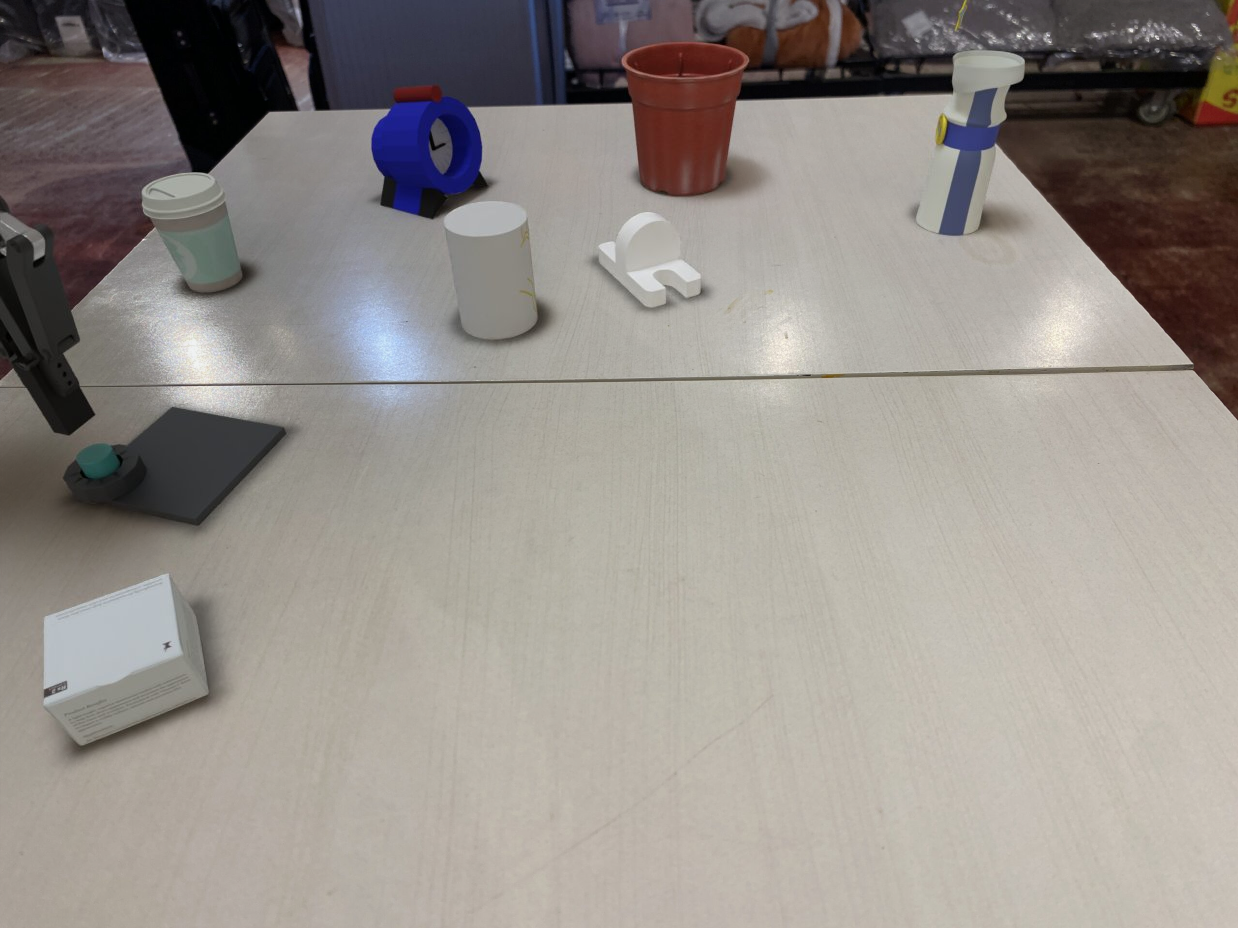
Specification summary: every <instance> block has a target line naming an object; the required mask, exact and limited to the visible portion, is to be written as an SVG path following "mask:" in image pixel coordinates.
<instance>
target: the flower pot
mask: <svg viewBox="0 0 1238 928" xmlns="http://www.w3.org/2000/svg"><path fill="white" fill-rule="evenodd" d="M749 63H750V58H749V56H748V55H747V54H746V53H745V52H743V51H742V50H739V49H738V48H735V47H732V46H727V45H724V44H723V45H722V44H718V43H712V42H711V43H709V42H701V41H672V42H663V43H662V42H661V43H656V44H655V43H654V44H649V45H645V46H641V47H638V48H635V49H632V50H630V51H629V52H627V53H625V54H624V55H623V56H622V58H621V66H622V67H623V68H622V69H624V70H625V73H626V81H627V90H628V94H629V96H630V98H631V107H632V114H633V125H634V126H633V127H634V133H635V135H634V136H635V145H636V156H637V164H638V165H637V166H638V172H639V173H638V174H639V175H638V176H639V181H640V183H641V184H642V185H643V186H644V187H646V188H647V189H649V190H651V191H653V192H655V193H659V192H660V191H664V192H666V193H668V195H670V196H686V197H688V196H696V195H702V194H704V193H708V192H712V191H714V190H716V189H717V187H718V186H719V184H723V183H724V181H725V176H726V170H727V165H728V164H727V163H728V157H729V151H730V145H731V137H732V131H733V124H734V118H735V111H736V105H737V99H738V96H739V95H740V93H741V88H742V82H743V76H744V75H743V74H744V70H745V69H746V68H747V67H748V65H749Z"/></svg>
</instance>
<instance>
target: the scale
mask: <svg viewBox="0 0 1238 928" xmlns="http://www.w3.org/2000/svg"><path fill="white" fill-rule="evenodd" d="M286 435H287V431H286V429H285V427H284V426H279V425H274V424H270V423H269V424H268V423H263V422H258V421H252V420H246V419H241V418H236V417H231V416H226V415H225V416H224V415H218V414H213V413H208V412H204V411H197V410H193V409H192V410H191V409H187V408H182V407H181V408H180V407H175V406H171V407H170V408H169V409H168V410H166V412H164V413H163V414H162V415H161V416H159V418H157V419H156V420H154V422H153V423H151V424H150V425H149V426H148V427H147V428H146V429H145V430H143V431H142V432H141V433H140V434H139V435H137V437H135V438H134V439H133V440H131V442H129V443H128V444H126V445H124V444H120V443H118V444H109V445H110V446H111V447H112V449H113V451H114V453H115V454H116V456H117V458H118V460H119V461H120V467H119V468H118V469H117V470H116V471H115V472H114V473H112V474H109V475H107V476H105V477H103V478H97V479H90V478H88V477H87V476H86V475H85V473H84V472H83V470H82V469H81V467H80V465H79V464H78V462H77V460H76V459H74V460H73V462H71V463H70V464H68V465H67V466H66V469H65V471H64V474H63V477H62V479H63V481H64V482H65V485H66V486H67V487H68V489H69V490H70V492H71V493H72V495H73V497H74V498H75V500H76V501H78V502H82V503H86V504H90V505H95V504H99V505H104V506H109V507H113V508H118V509H122V510H126V511H131V512H136V513H141V514H145V515H149V516H154V517H159V518H162V519H167V520H172V521H176V522H181V523H186V524H190V525H195V526H199V525H200V524H202V522H204V521H205V520H206V518H207V517H208V516H209V515H211V513H212V512H213V511H214V510H215V509H216V508H217V507H218V506H219V504H220V503H221V502H222V501H224V500H225V498H226V497H227V496H228V495H229V494H230V493H231V492H232V491H233V490H234V489H235V488H236V487H237V486H238V485H239V484H240V483H241V482H242V481H243V480H244V478H245V477H247V475H248V474H249V473H250V472H251V471H252V470H253V469H254V468H255V467H256V466H257V465H258V464H259V463H260V462H261V461H262V459H263V458H264V457H265V456H266V455H267V454H269V452H270V451H271V450H273V448H274V447H275V446H276V445H277V444H278V443H279V442H280V440H281V439H282V438H283V437H284V436H286Z"/></svg>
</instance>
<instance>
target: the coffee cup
mask: <svg viewBox="0 0 1238 928" xmlns="http://www.w3.org/2000/svg"><path fill="white" fill-rule="evenodd" d="M227 197H228V196H227V193H226V192H225V190H224V188H223V186H221V184H220V183H219V182H218V181H217V179H216V178H215V176H213V175H212V174H210V173H209V174H208V173H206V172H183V173H176V174H175V173H174V174H171V175H167V176H163V177H161V178H158V179H155V180H153V181H151V182H149V183H148V184H146V185H145V186H144V187H143V188H142V189H141V198H142V199H141V200H142V201H141V207H142V212H143V214H144V215H145V216H147V217H149V219H150V221H151V222H152V224H153V226H154V227H155V230H156V231H157V233H158V235H159V237H160V238H161V240H162V242H163V244H164V245H165V248H166V249H167V251H168V253H169V254H170V256H171V258H172V260H173V262H174V263H175V265H176V266H177V268H178V270H179V272H180V273H181V275H182V277H183V279H184V280H185V282H186V284H187V286H188V287H189V289H190V290H192V291H193V292H197V293H215V292H219V291H223V290H227V289H229V288H231V287H234V286H235V285H237V284H238V283H239V282H240V281H242V279H243V272H242V267H241V266H242V265H241V262H240V258H239V254H238V248H237V245H236V241H235V236H234V233H233V227H232V224H231V219H230V215H229V210H228V207H227V202H226V200H227Z"/></svg>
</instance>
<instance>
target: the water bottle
mask: <svg viewBox="0 0 1238 928" xmlns="http://www.w3.org/2000/svg"><path fill="white" fill-rule="evenodd" d="M967 2H968V0H964V1H963V4H962V7H961V9H960V10H959V11H958V19H957V22H956V25H955V28H954V32H957V30H958V28H961V26H962V23H963V18H964V15H965V13H966V11H967V10H968V9H967V8H968V5H967ZM952 65H953V71H952V79H951V83H952V88H953V92H952V96H951V97H950V100H949V103H948V104H947V105H946V106H945V107H944V109H943V110H942V113H941V114H940V115H939V117H938V121H937V125H936V130H935V144H936V145H935V147H934V149H933V153H932V156H931V160H930V164H929V169H928V172H927V175H926V176H927V177H926V181H925V185H924V188H923V192H922V196H921V199H920V203H919V205H918V210H917V213H916V216H915V222H916V223H917V225H918V226H920V227H921V228H922V229H924V230H926V231H929V232H931V233H934V234H940V235H945V236H964V235H968V234H972V233H974V232H976V231H977V230H978V229H979V228H980V224H981V220H982V214H983V209H984V205H985V200H986V196H987V192H988V188H989V184H990V181H991V177H992V173H993V169H994V166H995V162H996V156H997V148H996V142H997V138H998V135H999V131H1000V127H1001V124H1002V123H1003V122H1004V121H1006V119H1007V117H1008V116H1007V112H1006V109H1005V101H1006V97H1007V95H1008V91H1009V90H1010V87H1011V85H1015V84H1018V83H1020V82H1022V81H1023V79H1024V77H1025V69H1026V67H1025V66H1026V61H1025V58H1023V57H1022V56H1020V55H1018V54H1016V53H1012V52H1009V51H1008V52H1007V51H1002V50H983V49H979V50H977V49H975V50H965V51H960V52H957V53H955V54H954V55H952Z"/></svg>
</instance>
